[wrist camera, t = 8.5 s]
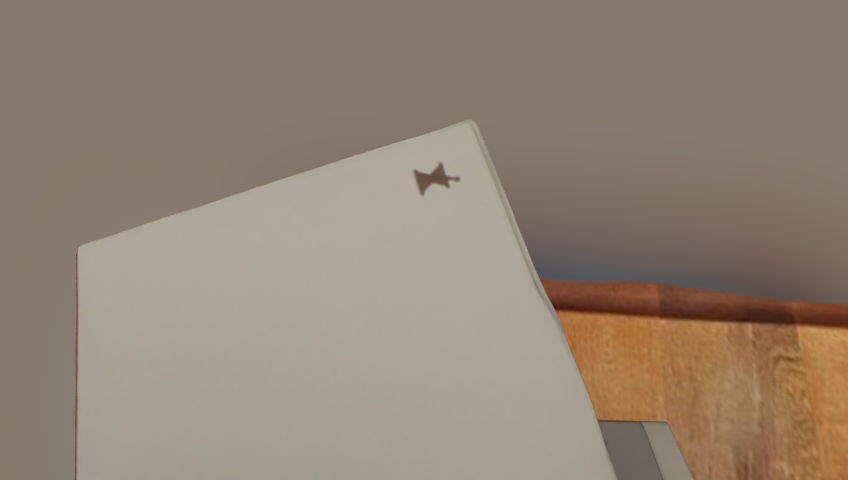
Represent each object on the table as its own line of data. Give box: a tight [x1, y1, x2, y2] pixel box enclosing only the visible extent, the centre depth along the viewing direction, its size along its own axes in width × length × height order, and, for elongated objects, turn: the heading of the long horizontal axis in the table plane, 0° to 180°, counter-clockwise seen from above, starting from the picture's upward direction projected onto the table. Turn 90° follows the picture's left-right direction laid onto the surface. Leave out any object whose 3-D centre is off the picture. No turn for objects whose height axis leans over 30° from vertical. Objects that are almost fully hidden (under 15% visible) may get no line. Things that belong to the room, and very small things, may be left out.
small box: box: [75, 119, 618, 480], centre depth 12 cm, size 8×6×13 cm
